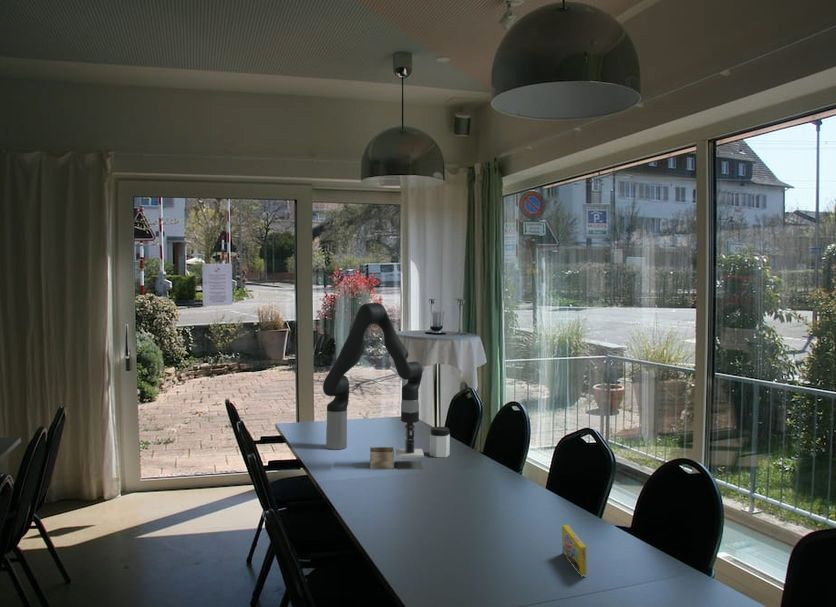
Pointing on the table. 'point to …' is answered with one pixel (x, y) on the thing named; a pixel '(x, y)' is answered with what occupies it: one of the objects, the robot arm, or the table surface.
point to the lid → (406, 455)
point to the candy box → (574, 549)
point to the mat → (409, 465)
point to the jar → (439, 442)
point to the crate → (381, 457)
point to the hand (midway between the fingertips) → (409, 451)
